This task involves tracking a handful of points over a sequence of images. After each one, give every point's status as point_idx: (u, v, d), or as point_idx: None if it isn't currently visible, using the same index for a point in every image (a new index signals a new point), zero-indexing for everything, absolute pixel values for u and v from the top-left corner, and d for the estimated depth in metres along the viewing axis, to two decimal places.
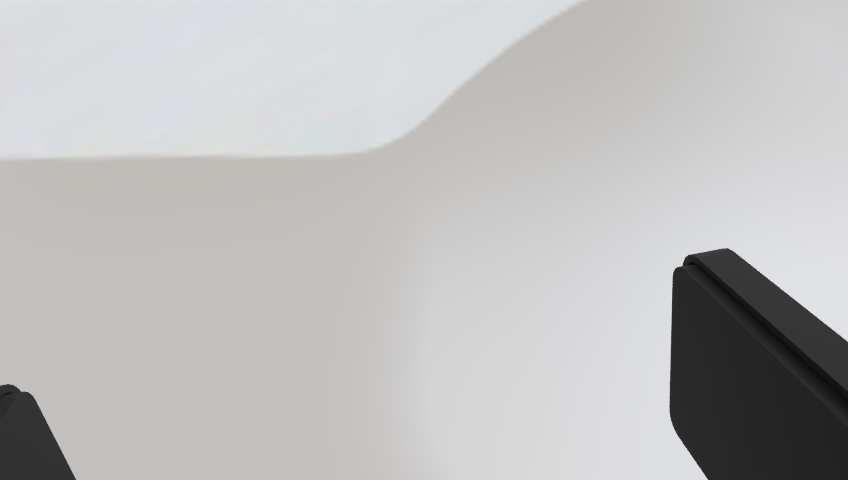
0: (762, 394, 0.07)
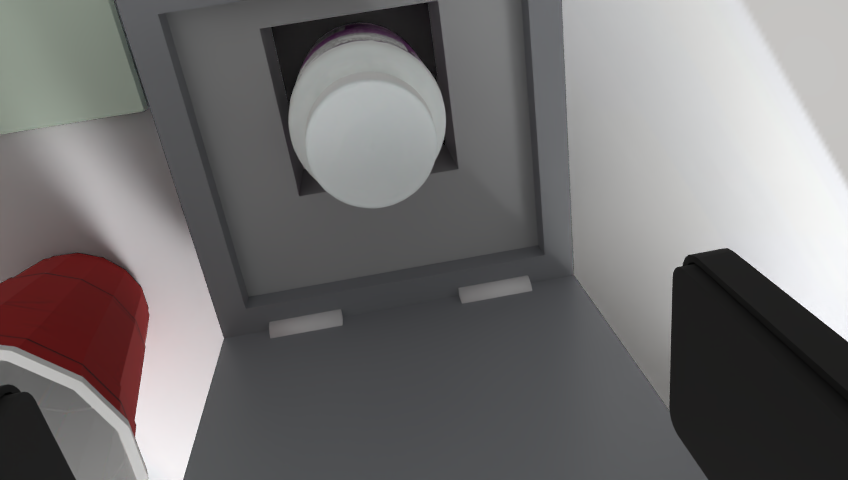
0: (762, 394, 0.07)
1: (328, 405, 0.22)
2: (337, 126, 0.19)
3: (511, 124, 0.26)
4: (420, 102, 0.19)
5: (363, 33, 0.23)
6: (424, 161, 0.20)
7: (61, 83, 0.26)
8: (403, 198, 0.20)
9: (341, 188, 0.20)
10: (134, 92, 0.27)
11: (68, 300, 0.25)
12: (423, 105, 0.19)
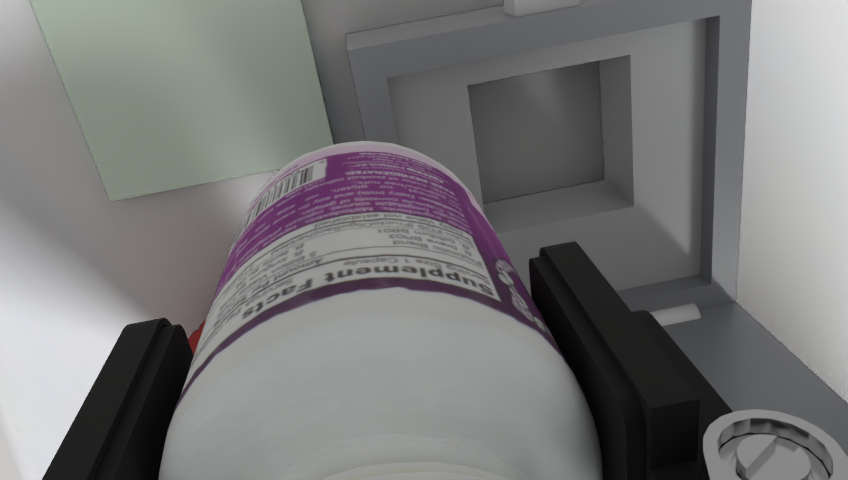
0: (576, 371, 0.08)
1: None
2: None
3: (685, 165, 0.28)
4: None
5: (370, 217, 0.09)
6: None
7: (264, 135, 0.28)
8: None
9: None
10: (329, 141, 0.28)
11: None
12: None
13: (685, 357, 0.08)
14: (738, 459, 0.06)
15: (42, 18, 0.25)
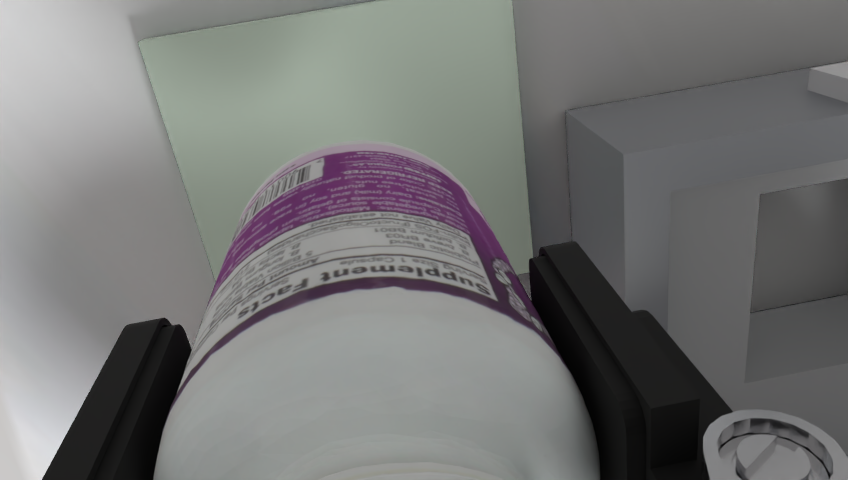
0: (576, 371, 0.08)
1: None
2: None
3: None
4: None
5: (367, 216, 0.09)
6: None
7: None
8: None
9: None
10: (528, 250, 0.21)
11: None
12: None
13: (685, 357, 0.08)
14: (738, 459, 0.06)
15: (161, 90, 0.18)
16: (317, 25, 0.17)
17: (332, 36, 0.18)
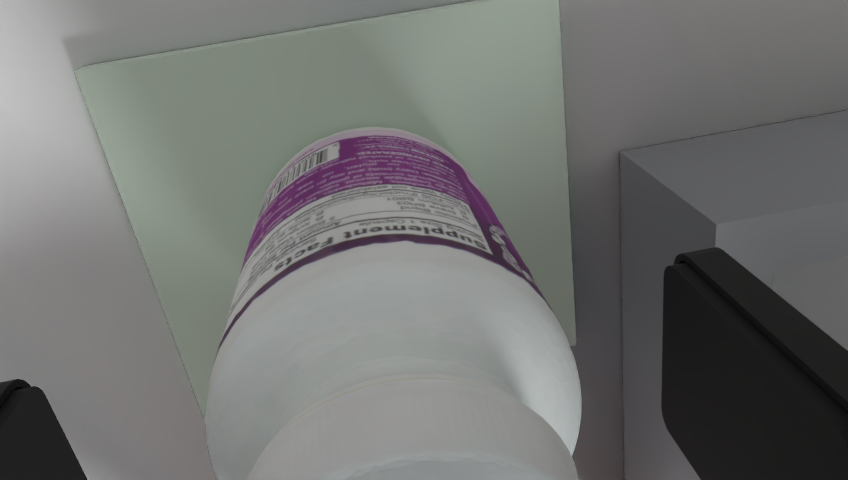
0: (750, 391, 0.07)
1: None
2: None
3: None
4: None
5: (380, 188, 0.10)
6: None
7: None
8: None
9: None
10: (570, 321, 0.17)
11: None
12: None
13: None
14: None
15: (106, 132, 0.14)
16: (308, 48, 0.13)
17: (328, 62, 0.14)
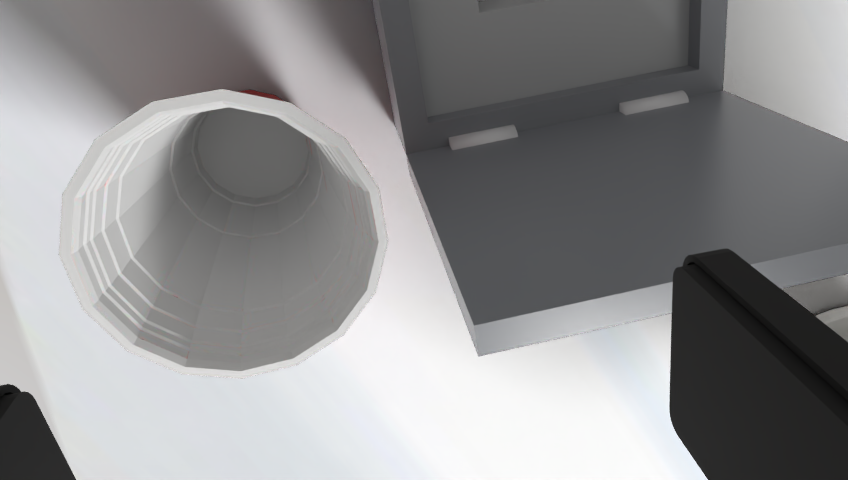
0: (762, 394, 0.07)
1: (541, 178, 0.25)
2: None
3: None
4: None
5: None
6: None
7: None
8: None
9: None
10: None
11: None
12: None
13: None
14: None
15: None
16: None
17: None
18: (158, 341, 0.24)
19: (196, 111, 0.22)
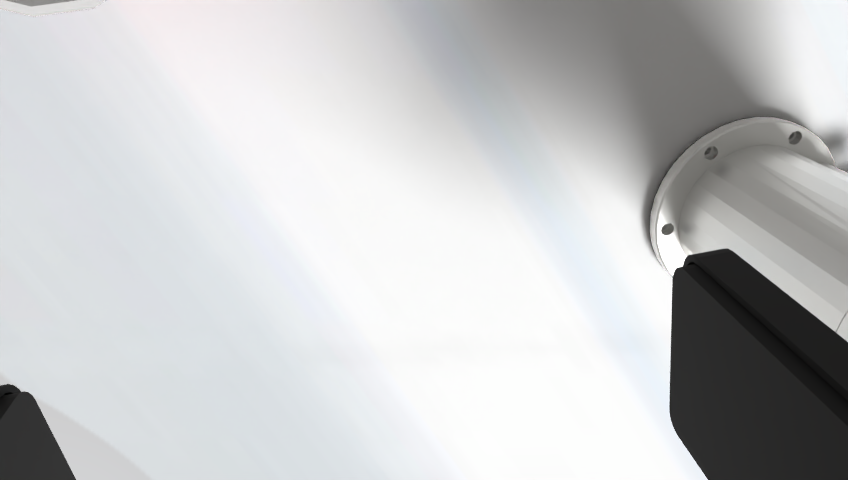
0: (762, 394, 0.07)
1: None
2: None
3: None
4: None
5: None
6: None
7: None
8: None
9: None
10: None
11: None
12: None
13: None
14: None
15: None
16: None
17: None
18: None
19: None
